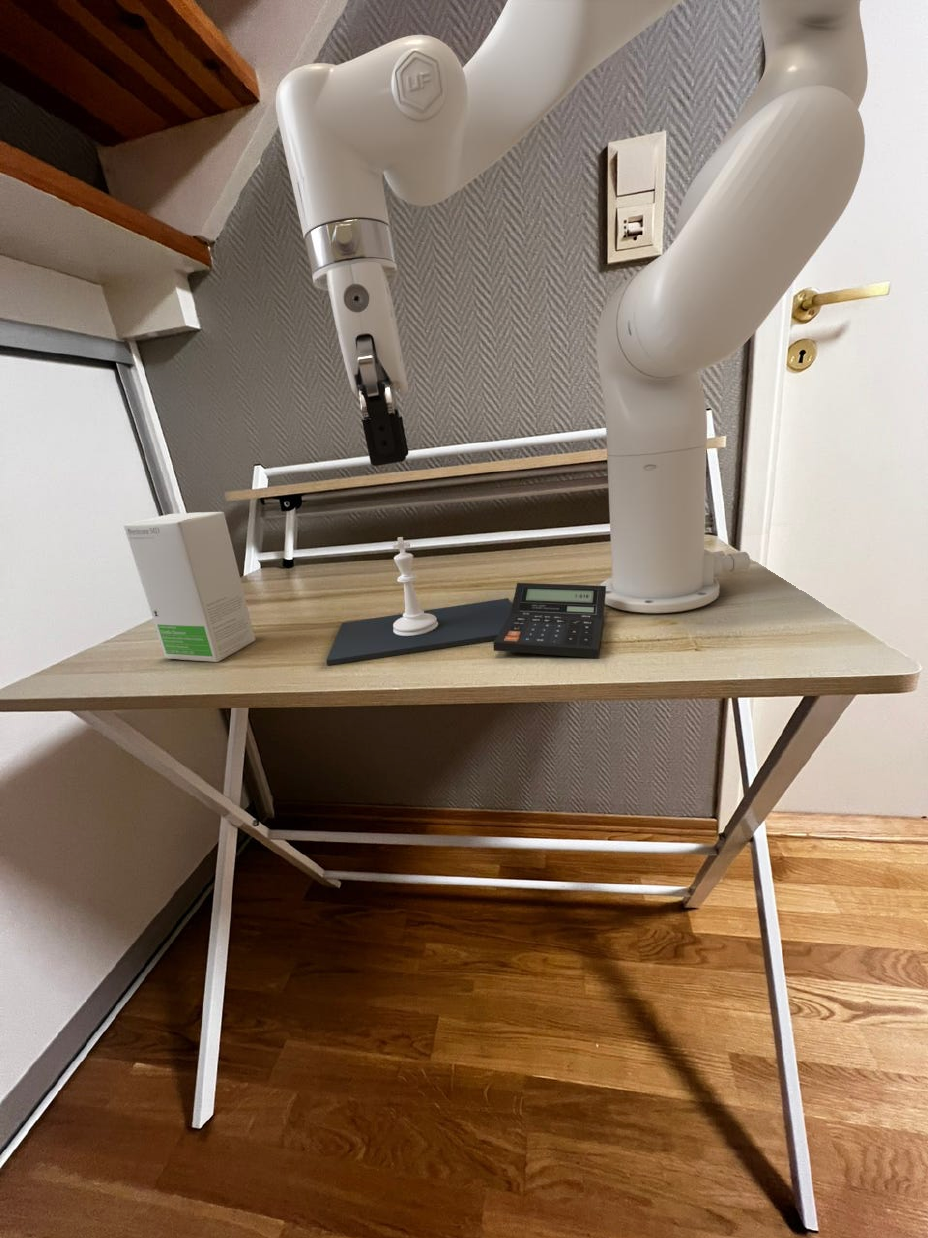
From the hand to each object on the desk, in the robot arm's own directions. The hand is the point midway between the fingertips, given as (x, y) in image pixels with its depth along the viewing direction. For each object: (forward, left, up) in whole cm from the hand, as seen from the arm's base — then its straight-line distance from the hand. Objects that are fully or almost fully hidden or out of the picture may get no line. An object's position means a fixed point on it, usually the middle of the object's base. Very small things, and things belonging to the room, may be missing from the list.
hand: (392, 460), depth 53 cm
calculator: (-13, +6, -18) cm, 23 cm away
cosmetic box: (+24, -4, -18) cm, 31 cm away
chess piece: (+1, 0, -18) cm, 18 cm away
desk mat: (-1, 0, -18) cm, 18 cm away
